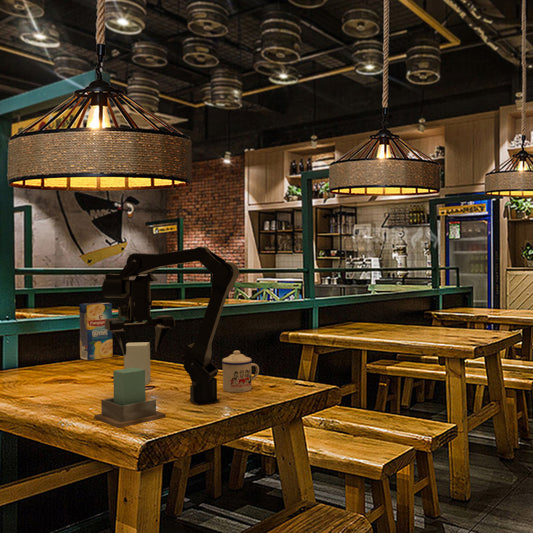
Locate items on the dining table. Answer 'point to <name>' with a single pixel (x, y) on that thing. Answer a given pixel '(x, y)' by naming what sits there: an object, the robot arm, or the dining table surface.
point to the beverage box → (95, 331)
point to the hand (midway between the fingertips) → (140, 353)
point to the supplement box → (138, 358)
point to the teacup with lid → (238, 373)
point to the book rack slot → (128, 413)
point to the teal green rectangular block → (129, 386)
